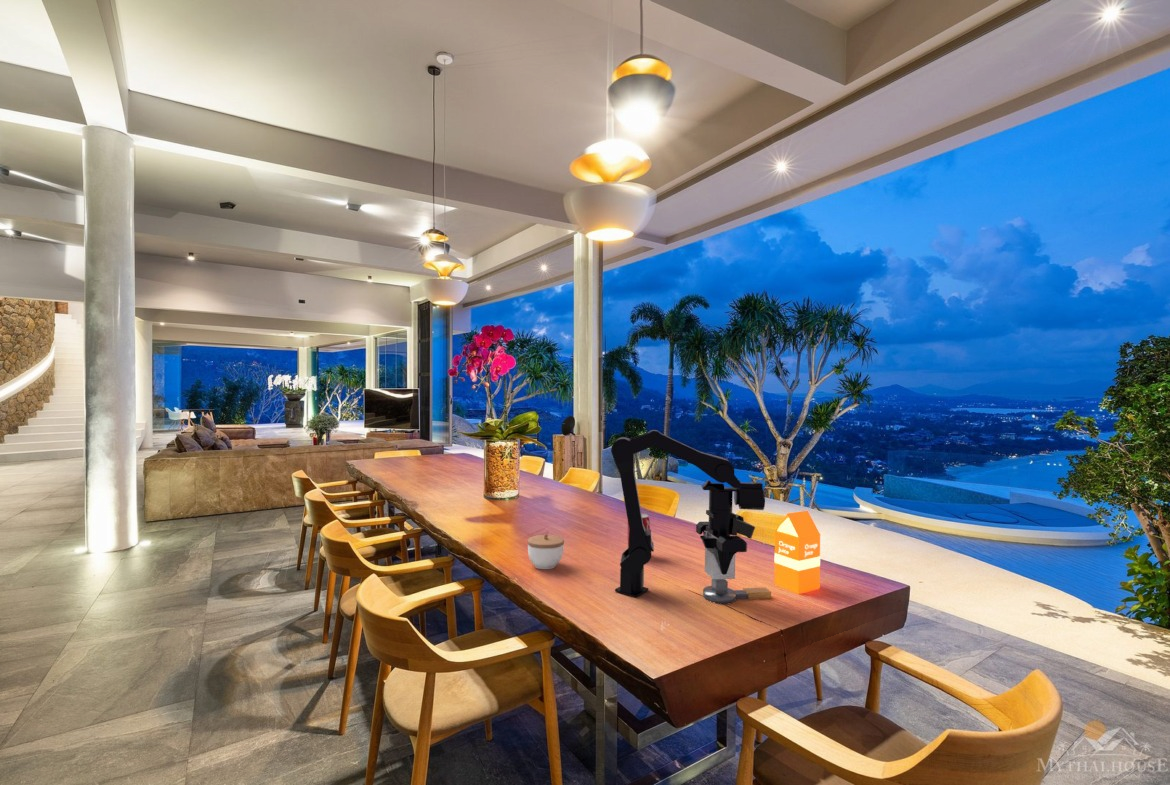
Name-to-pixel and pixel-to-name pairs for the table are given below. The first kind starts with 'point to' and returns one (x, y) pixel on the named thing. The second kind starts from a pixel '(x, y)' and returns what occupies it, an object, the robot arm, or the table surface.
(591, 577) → the table surface
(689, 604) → the table surface
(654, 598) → the table surface
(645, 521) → the soda can
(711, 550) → the white metal cube
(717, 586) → the ratchet
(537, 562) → the lidded jar
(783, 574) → the orange juice
